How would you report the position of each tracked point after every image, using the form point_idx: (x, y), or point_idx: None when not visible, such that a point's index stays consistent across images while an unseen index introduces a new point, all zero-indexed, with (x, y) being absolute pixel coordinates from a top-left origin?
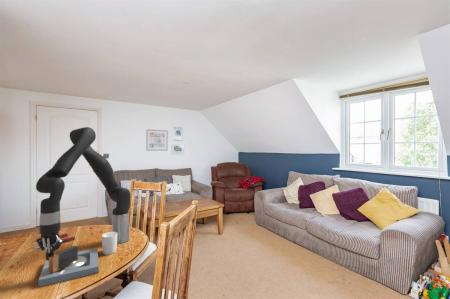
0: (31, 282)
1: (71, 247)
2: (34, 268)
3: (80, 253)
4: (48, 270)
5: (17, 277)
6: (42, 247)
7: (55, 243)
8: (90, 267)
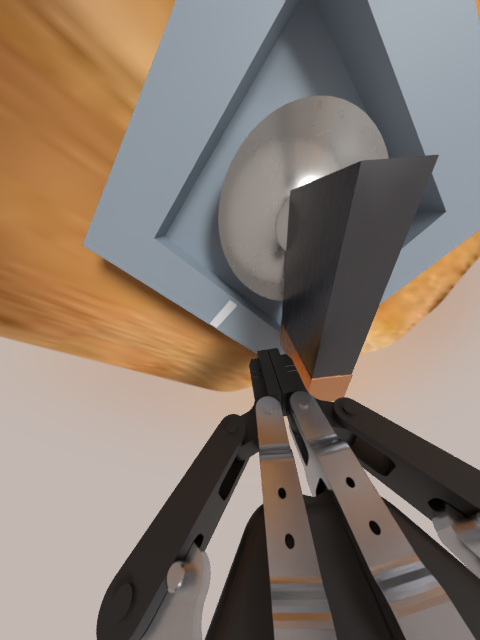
0: (231, 350)
1: (365, 229)
2: (115, 293)
3: (242, 23)
4: (258, 329)
5: (149, 351)
6: (241, 472)
7: (442, 533)
8: (458, 234)
